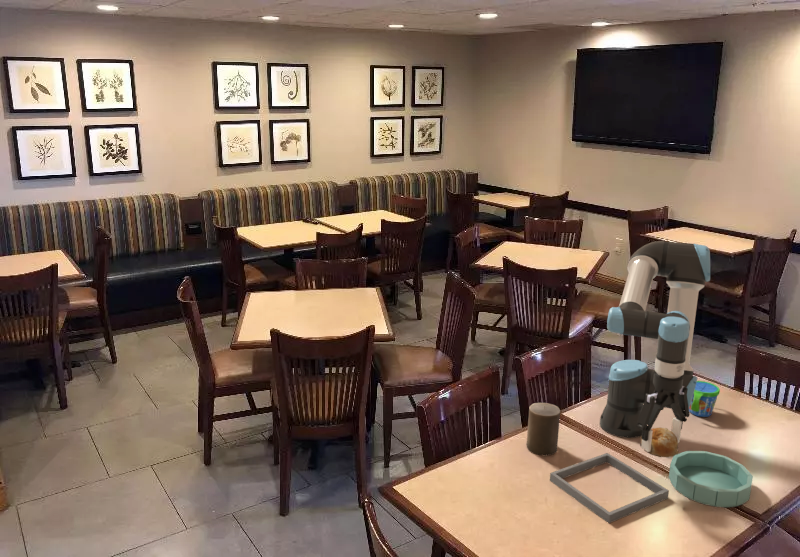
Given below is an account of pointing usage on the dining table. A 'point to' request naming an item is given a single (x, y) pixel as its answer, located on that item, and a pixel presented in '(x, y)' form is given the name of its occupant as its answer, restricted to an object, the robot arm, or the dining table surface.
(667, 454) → the bread roll
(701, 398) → the snack cup
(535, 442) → the pillar candle
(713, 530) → the dining table surface
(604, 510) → the rectangular frame
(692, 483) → the bowl
